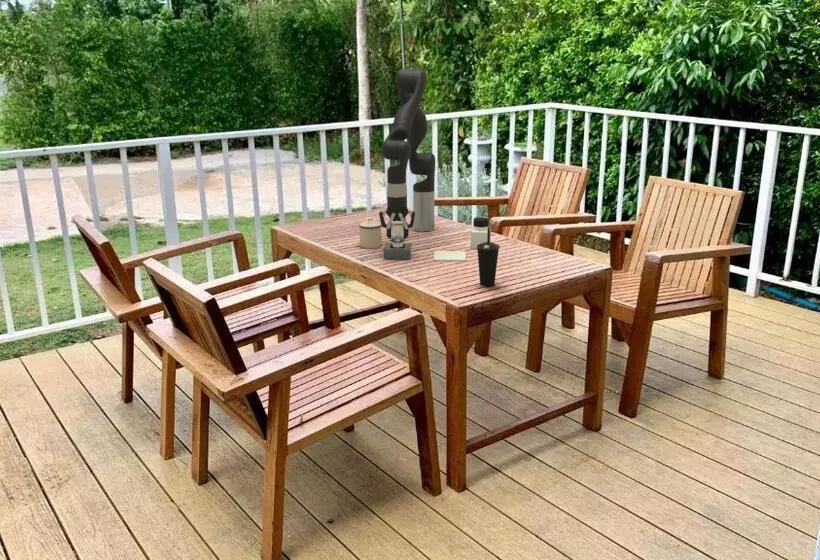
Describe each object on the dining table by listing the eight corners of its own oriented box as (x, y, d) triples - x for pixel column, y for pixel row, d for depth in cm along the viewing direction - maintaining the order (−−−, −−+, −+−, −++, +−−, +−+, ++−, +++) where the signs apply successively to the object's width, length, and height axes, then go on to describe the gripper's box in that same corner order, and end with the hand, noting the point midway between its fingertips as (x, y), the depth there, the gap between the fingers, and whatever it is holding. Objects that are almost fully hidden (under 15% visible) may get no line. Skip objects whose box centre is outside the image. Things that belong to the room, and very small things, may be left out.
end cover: (391, 249, 286) (390, 222, 282) (405, 250, 285) (405, 222, 282) (389, 253, 280) (389, 225, 277) (404, 254, 280) (404, 225, 277)
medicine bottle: (488, 249, 292) (489, 219, 288) (470, 248, 293) (471, 219, 289) (490, 245, 298) (491, 215, 295) (472, 244, 300) (473, 215, 296)
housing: (386, 252, 288) (385, 242, 287) (411, 252, 288) (411, 242, 287) (383, 259, 279) (383, 249, 278) (409, 260, 278) (409, 249, 277)
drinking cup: (475, 288, 246) (476, 229, 240) (476, 281, 253) (477, 224, 247) (498, 289, 245) (499, 230, 239) (499, 282, 252) (500, 224, 246)
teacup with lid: (386, 246, 297) (386, 218, 294) (367, 250, 292) (367, 221, 289) (370, 240, 307) (369, 212, 303) (351, 243, 301) (350, 216, 298)
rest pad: (434, 252, 288) (434, 250, 288) (465, 252, 287) (465, 251, 287) (433, 261, 277) (433, 259, 277) (465, 261, 276) (465, 259, 276)
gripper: (416, 192, 279) (417, 235, 284) (378, 192, 280) (379, 235, 285) (415, 196, 272) (415, 240, 277) (376, 196, 273) (377, 240, 278)
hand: (397, 237), depth 281 cm, fingers closed on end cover, 5 cm apart
